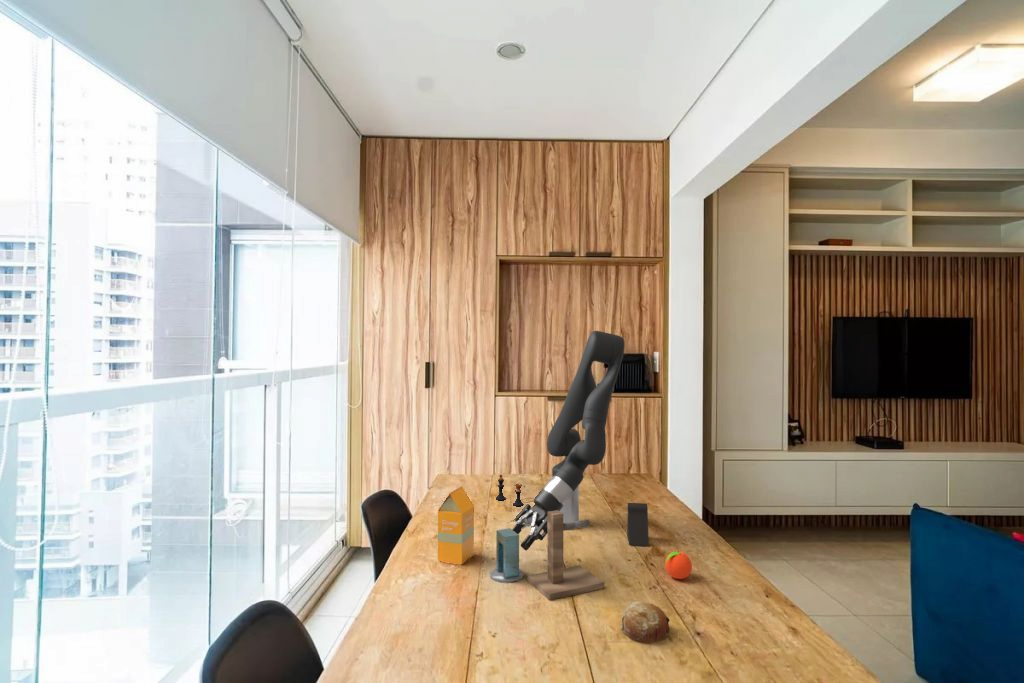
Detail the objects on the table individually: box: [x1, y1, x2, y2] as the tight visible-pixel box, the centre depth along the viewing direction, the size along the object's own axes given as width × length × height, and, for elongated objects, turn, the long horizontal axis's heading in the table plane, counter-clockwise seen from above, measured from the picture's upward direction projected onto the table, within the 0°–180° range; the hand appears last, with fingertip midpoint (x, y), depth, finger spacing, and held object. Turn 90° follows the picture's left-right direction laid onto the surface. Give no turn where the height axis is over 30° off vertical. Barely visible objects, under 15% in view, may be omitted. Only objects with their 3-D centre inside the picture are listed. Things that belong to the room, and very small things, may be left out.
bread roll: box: [620, 600, 670, 644], centre depth 117 cm, size 10×10×8 cm
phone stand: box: [626, 502, 650, 547], centre depth 172 cm, size 9×6×12 cm, turn 172°
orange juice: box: [437, 486, 475, 565], centre depth 158 cm, size 8×9×20 cm
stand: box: [527, 510, 606, 601], centre depth 140 cm, size 12×16×19 cm
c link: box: [495, 527, 520, 579], centre depth 146 cm, size 6×4×11 cm, turn 25°
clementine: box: [664, 550, 693, 580], centre depth 144 cm, size 8×7×7 cm
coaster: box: [489, 568, 525, 584], centre depth 146 cm, size 9×9×1 cm
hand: (516, 543), depth 148 cm, fingers open, 8 cm apart
